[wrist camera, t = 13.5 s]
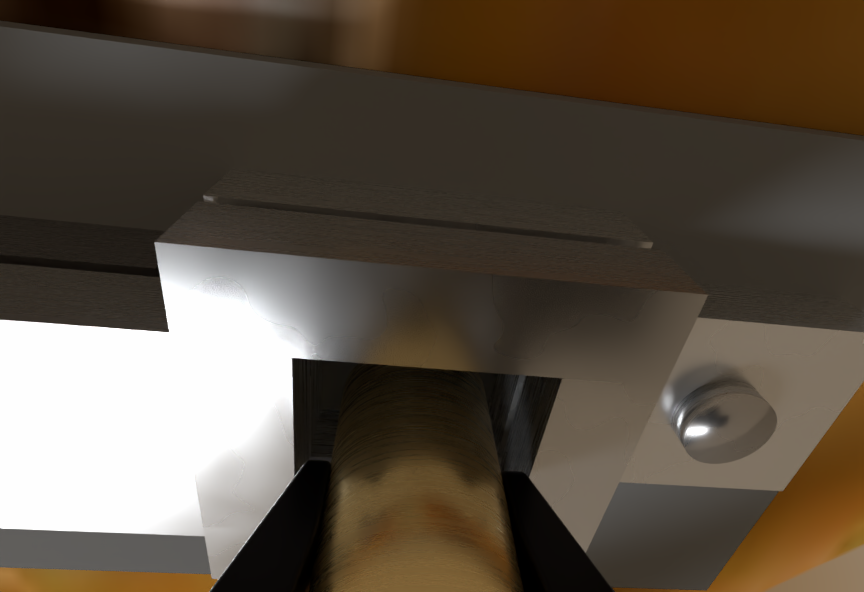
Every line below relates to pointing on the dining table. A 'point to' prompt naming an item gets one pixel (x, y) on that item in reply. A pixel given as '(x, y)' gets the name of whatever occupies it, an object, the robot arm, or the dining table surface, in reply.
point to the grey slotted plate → (660, 441)
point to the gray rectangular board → (431, 170)
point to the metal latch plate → (319, 340)
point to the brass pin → (415, 488)
